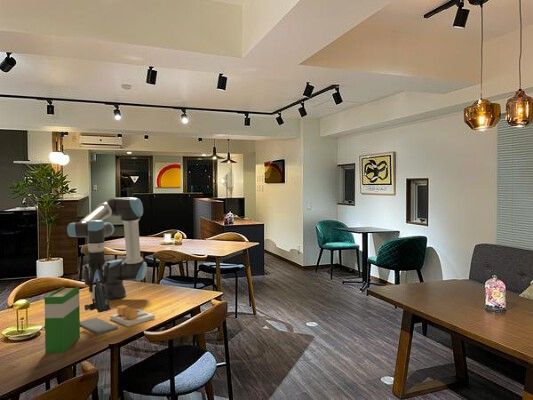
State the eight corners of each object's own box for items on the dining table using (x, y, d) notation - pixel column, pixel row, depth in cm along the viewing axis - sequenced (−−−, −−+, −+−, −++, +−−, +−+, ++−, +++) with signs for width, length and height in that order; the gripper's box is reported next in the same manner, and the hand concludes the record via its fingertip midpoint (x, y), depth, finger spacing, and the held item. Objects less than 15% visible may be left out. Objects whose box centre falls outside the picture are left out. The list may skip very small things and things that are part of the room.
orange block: (125, 317, 207) (125, 309, 206) (132, 315, 210) (131, 307, 209) (130, 319, 203) (130, 311, 203) (137, 317, 206) (137, 309, 206)
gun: (82, 282, 204) (104, 276, 199) (89, 314, 203) (111, 309, 197) (78, 283, 202) (99, 277, 196) (85, 315, 201) (107, 310, 195)
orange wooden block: (117, 314, 212) (117, 306, 212) (124, 312, 215) (124, 304, 215) (122, 315, 209) (122, 308, 208) (129, 314, 212) (129, 306, 212)
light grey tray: (110, 319, 211) (110, 315, 211) (137, 312, 223) (137, 308, 223) (127, 326, 200) (127, 322, 200) (154, 318, 212) (154, 314, 212)
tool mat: (77, 324, 203) (77, 322, 203) (96, 319, 211) (96, 317, 211) (98, 334, 189) (98, 332, 189) (117, 328, 196) (117, 326, 196)
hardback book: (63, 337, 185) (62, 286, 184) (79, 337, 186) (79, 286, 185) (45, 353, 167) (44, 297, 167) (63, 352, 168) (62, 296, 167)
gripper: (83, 254, 190) (83, 302, 190) (115, 250, 202) (115, 295, 203) (76, 252, 195) (76, 299, 195) (108, 248, 207) (108, 292, 208)
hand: (96, 297), depth 199 cm, fingers closed on gun, 3 cm apart
